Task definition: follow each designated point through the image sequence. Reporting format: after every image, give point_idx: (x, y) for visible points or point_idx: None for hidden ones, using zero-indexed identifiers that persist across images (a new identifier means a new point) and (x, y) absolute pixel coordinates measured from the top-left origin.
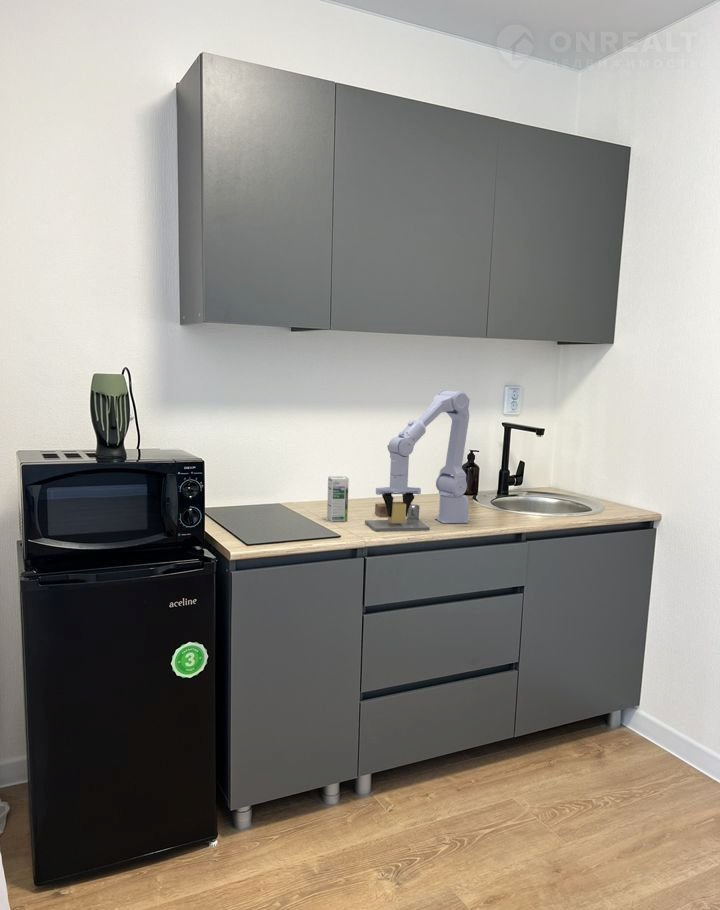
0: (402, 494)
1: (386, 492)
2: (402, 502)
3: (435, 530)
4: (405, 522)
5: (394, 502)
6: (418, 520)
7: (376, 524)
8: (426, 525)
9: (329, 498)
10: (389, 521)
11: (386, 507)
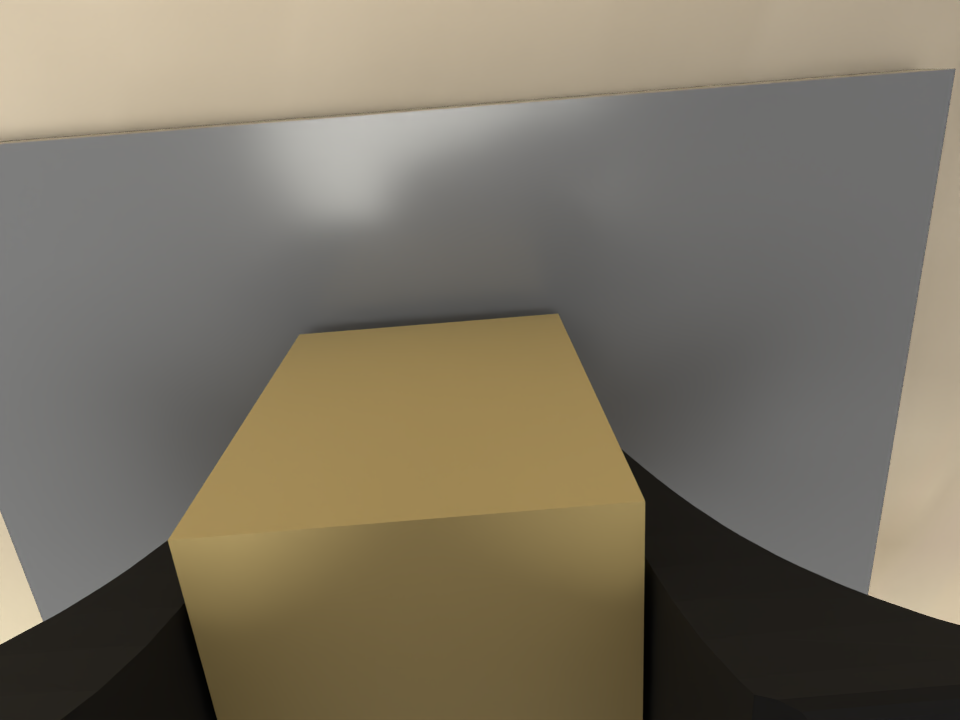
0: (761, 708)
1: None
2: (618, 632)
3: (920, 596)
4: (621, 340)
5: (355, 638)
6: (932, 175)
7: (96, 481)
8: (874, 534)
9: None
10: (349, 260)
11: (157, 558)
